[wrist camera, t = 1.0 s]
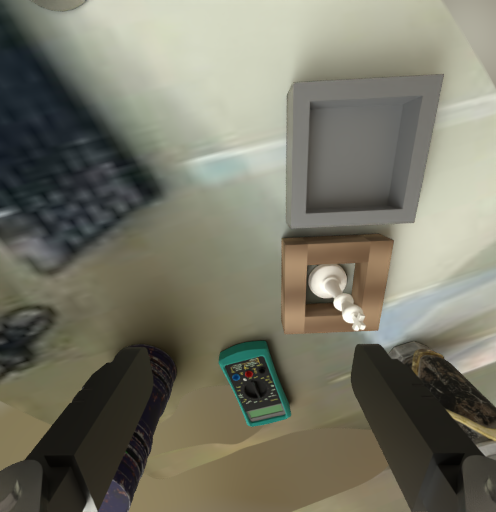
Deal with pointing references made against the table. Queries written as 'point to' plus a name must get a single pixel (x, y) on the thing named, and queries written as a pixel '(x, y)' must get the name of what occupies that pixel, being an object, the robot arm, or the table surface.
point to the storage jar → (141, 434)
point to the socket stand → (333, 252)
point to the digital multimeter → (255, 382)
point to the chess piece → (336, 292)
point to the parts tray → (358, 149)
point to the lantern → (453, 394)
